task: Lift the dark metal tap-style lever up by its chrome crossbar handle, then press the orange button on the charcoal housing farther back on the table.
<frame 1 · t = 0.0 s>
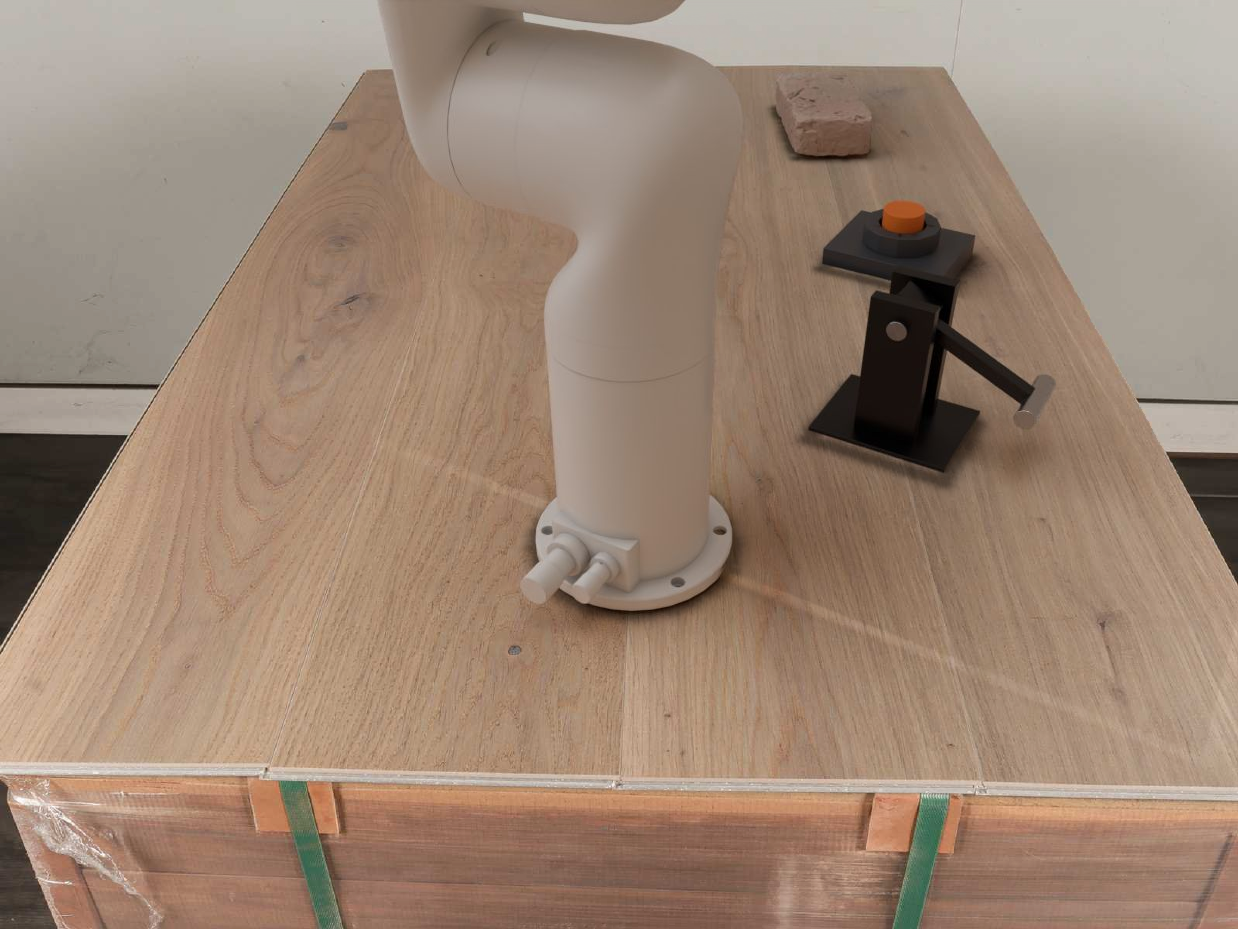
bracket: (892, 431, 81), on the table
lever: (968, 353, 74), point 8 cm above the table, hinge at -25.0°
button: (903, 218, 99), point 4 cm above the table, slide at 0.1 cm
button box: (896, 263, 102), on the table
brick: (818, 133, 127), on the table
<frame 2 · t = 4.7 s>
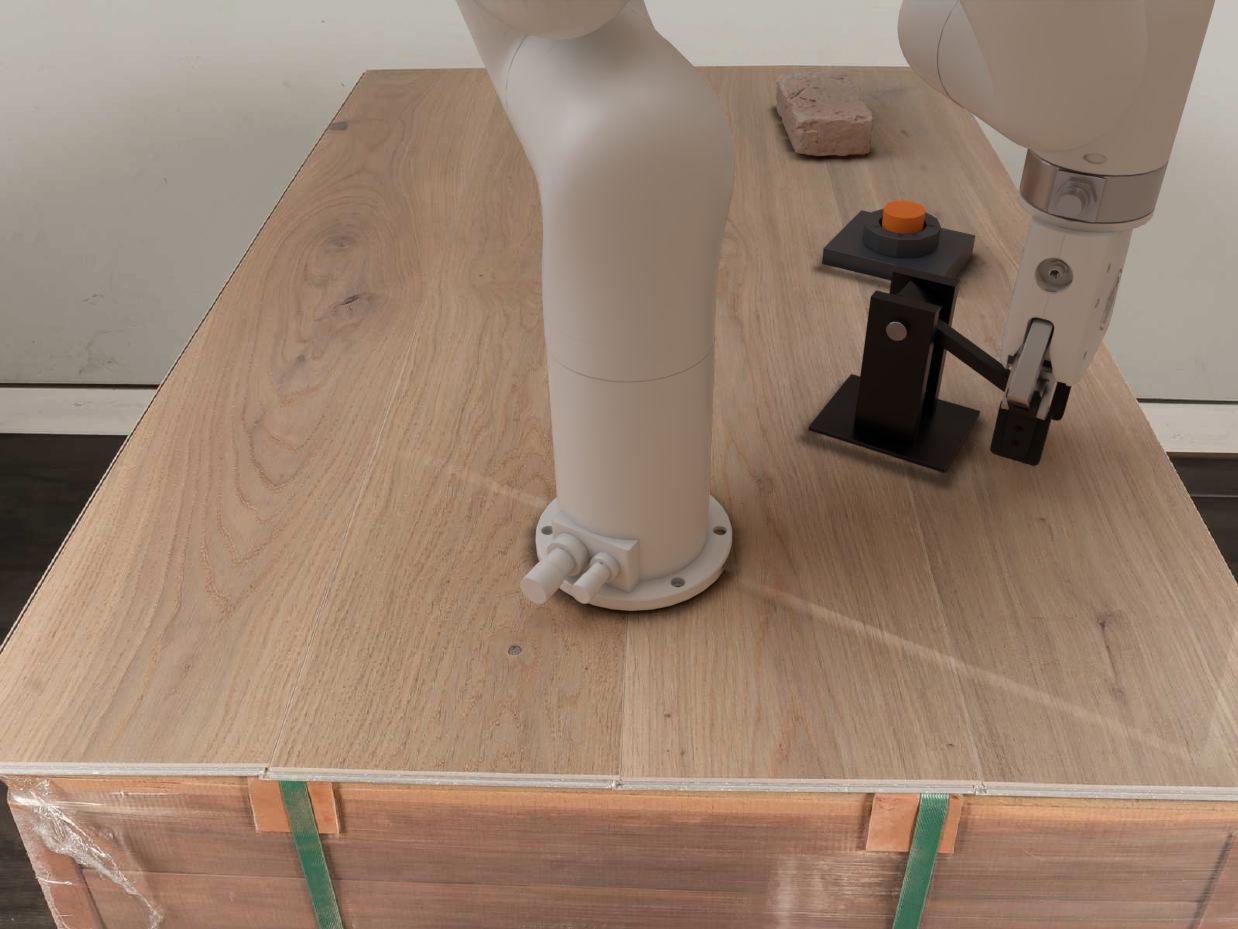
hand: (1027, 432, 75), 3 cm above the table, tool pointing down, fingers closed on lever, 5 cm apart
lever: (968, 353, 74), point 8 cm above the table, hinge at -25.0°, touching gripper
everything else where it was.
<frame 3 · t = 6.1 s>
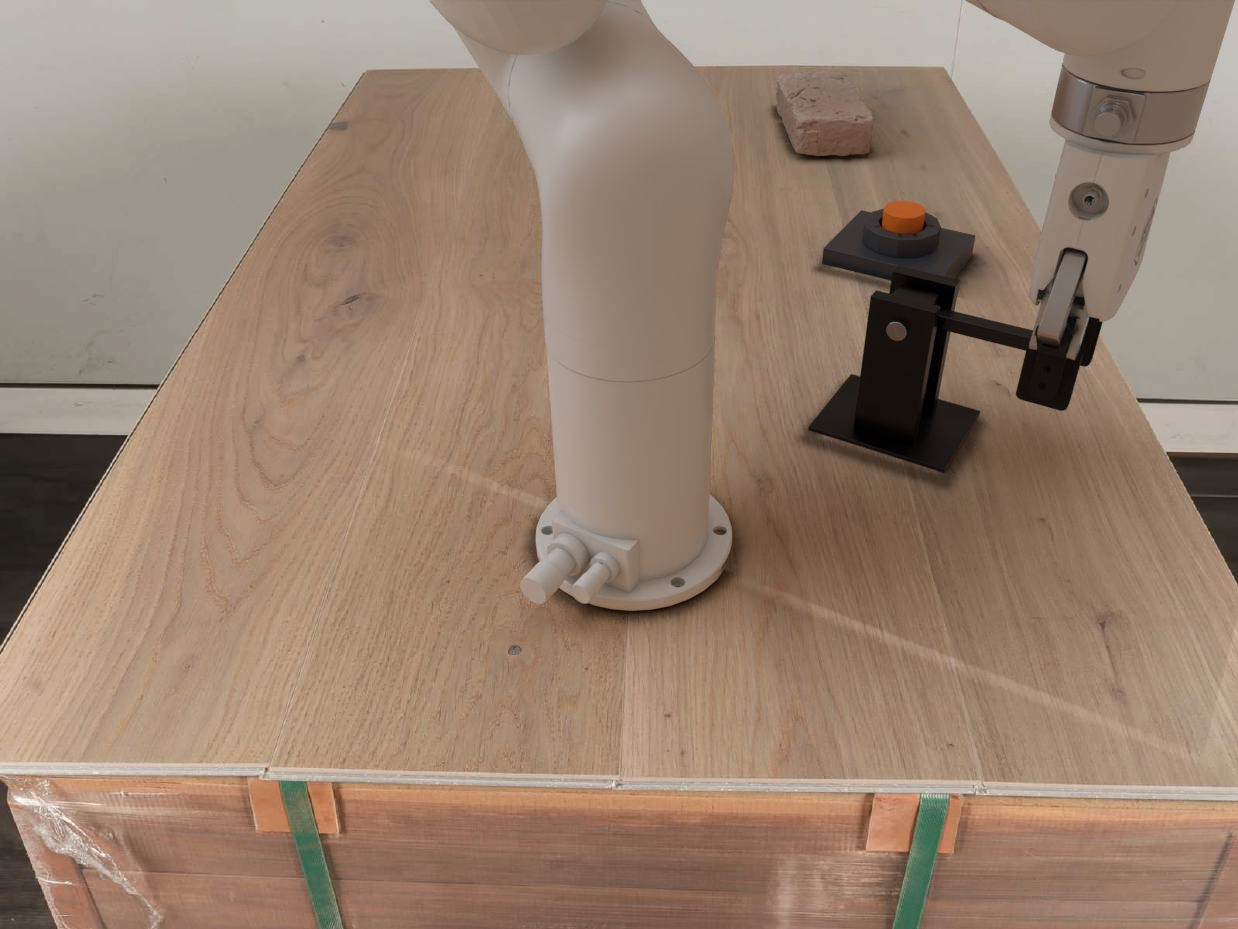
hand: (1054, 378, 72), 8 cm above the table, tool pointing down, fingers closed on lever, 5 cm apart
lever: (980, 328, 73), point 10 cm above the table, hinge at 0.7°, touching gripper
everything else where it was.
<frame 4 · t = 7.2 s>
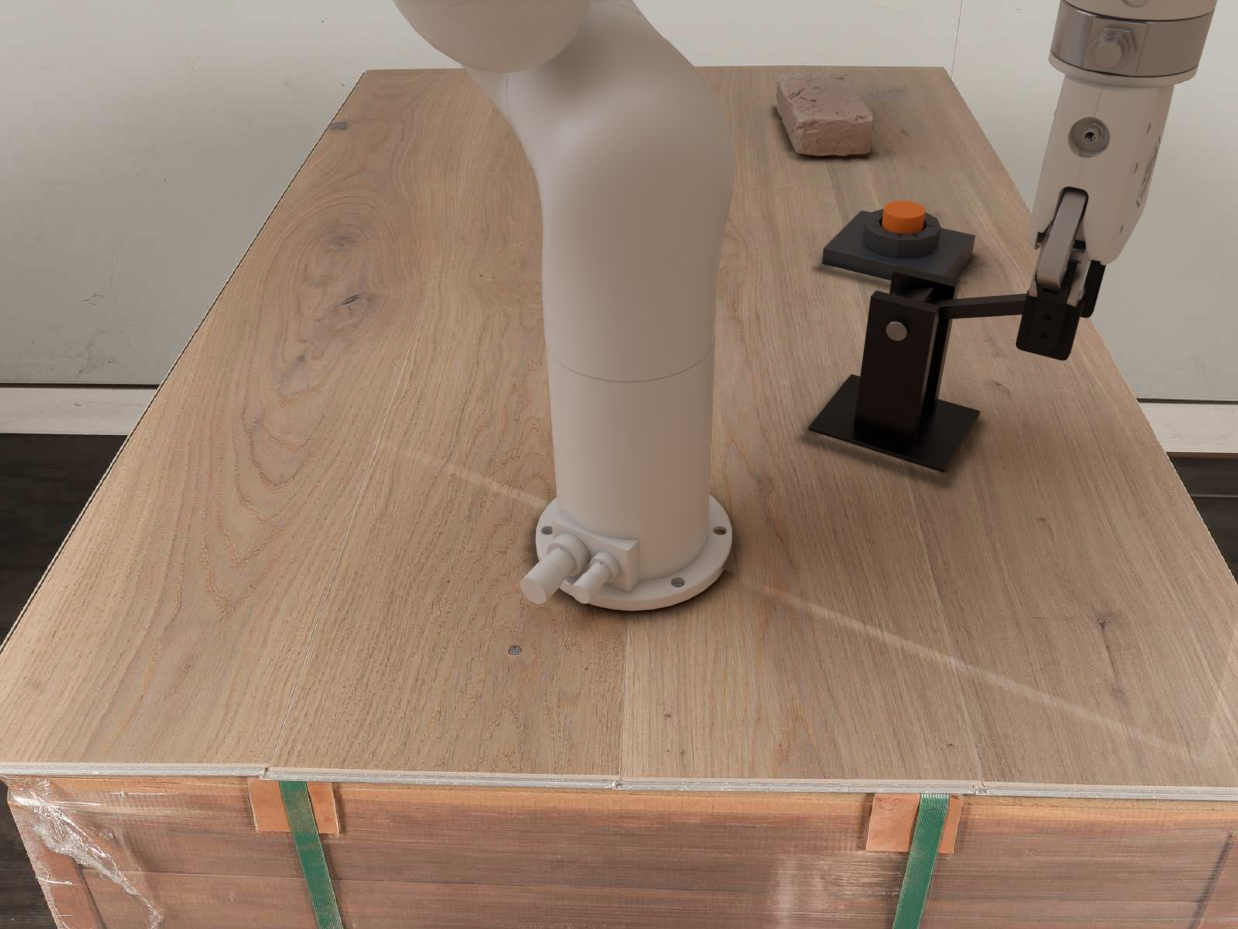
hand: (1055, 329, 70), 11 cm above the table, tool pointing down, fingers closed on lever, 5 cm apart
lever: (980, 307, 72), point 12 cm above the table, hinge at 19.8°, touching gripper
everything else where it was.
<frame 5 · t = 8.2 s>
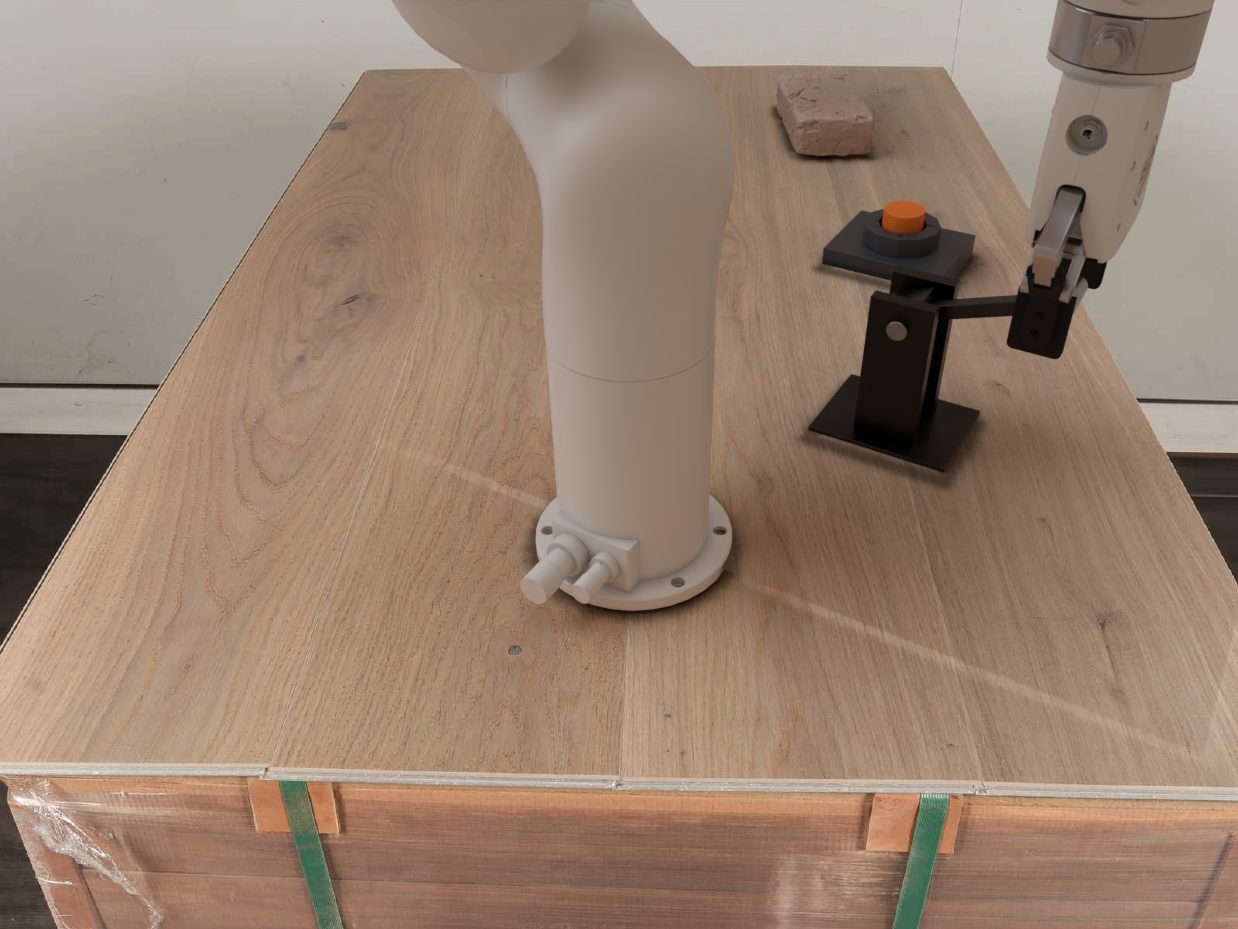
hand: (1054, 315, 70), 12 cm above the table, tool pointing down, fingers open, 9 cm apart
lever: (980, 307, 72), point 12 cm above the table, hinge at 19.4°
everything else where it was.
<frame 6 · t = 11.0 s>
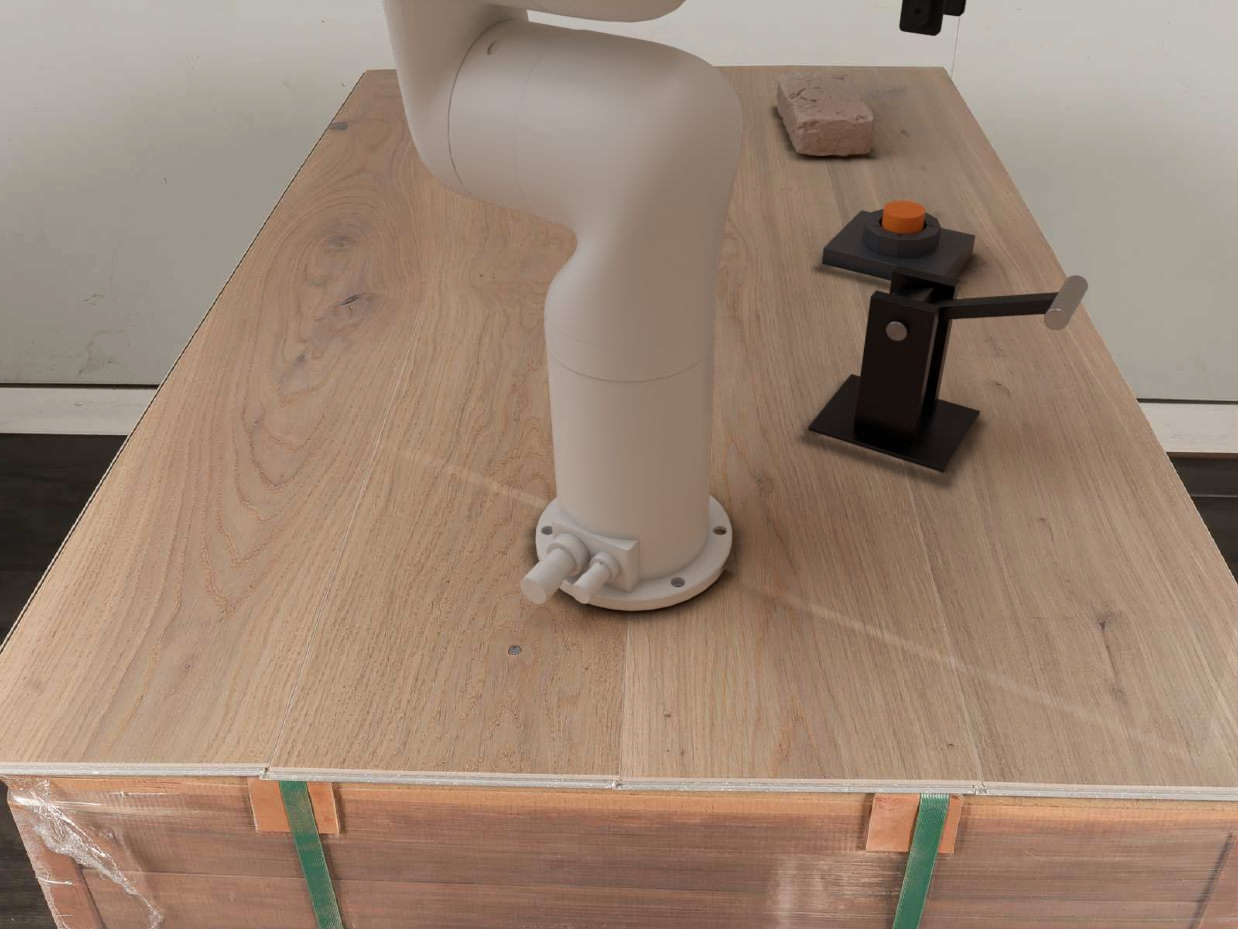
hand: (932, 20, 89), 21 cm above the table, tool pointing down, fingers open, 5 cm apart
nothing on the table moved.
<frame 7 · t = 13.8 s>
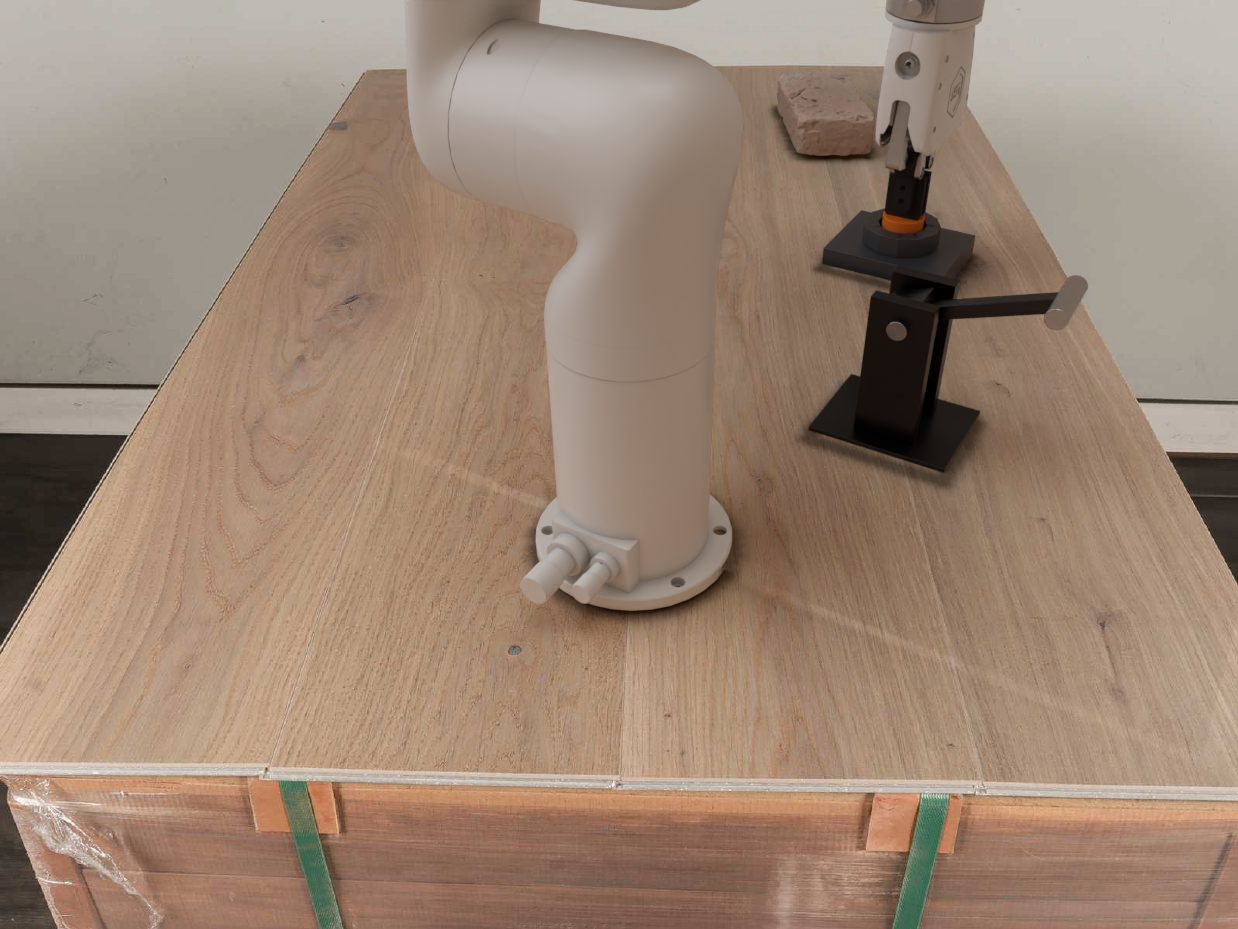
hand: (904, 213, 99), 5 cm above the table, tool pointing down, fingers closed
button: (902, 223, 99), point 4 cm above the table, slide at -0.5 cm, touching gripper
everything else where it was.
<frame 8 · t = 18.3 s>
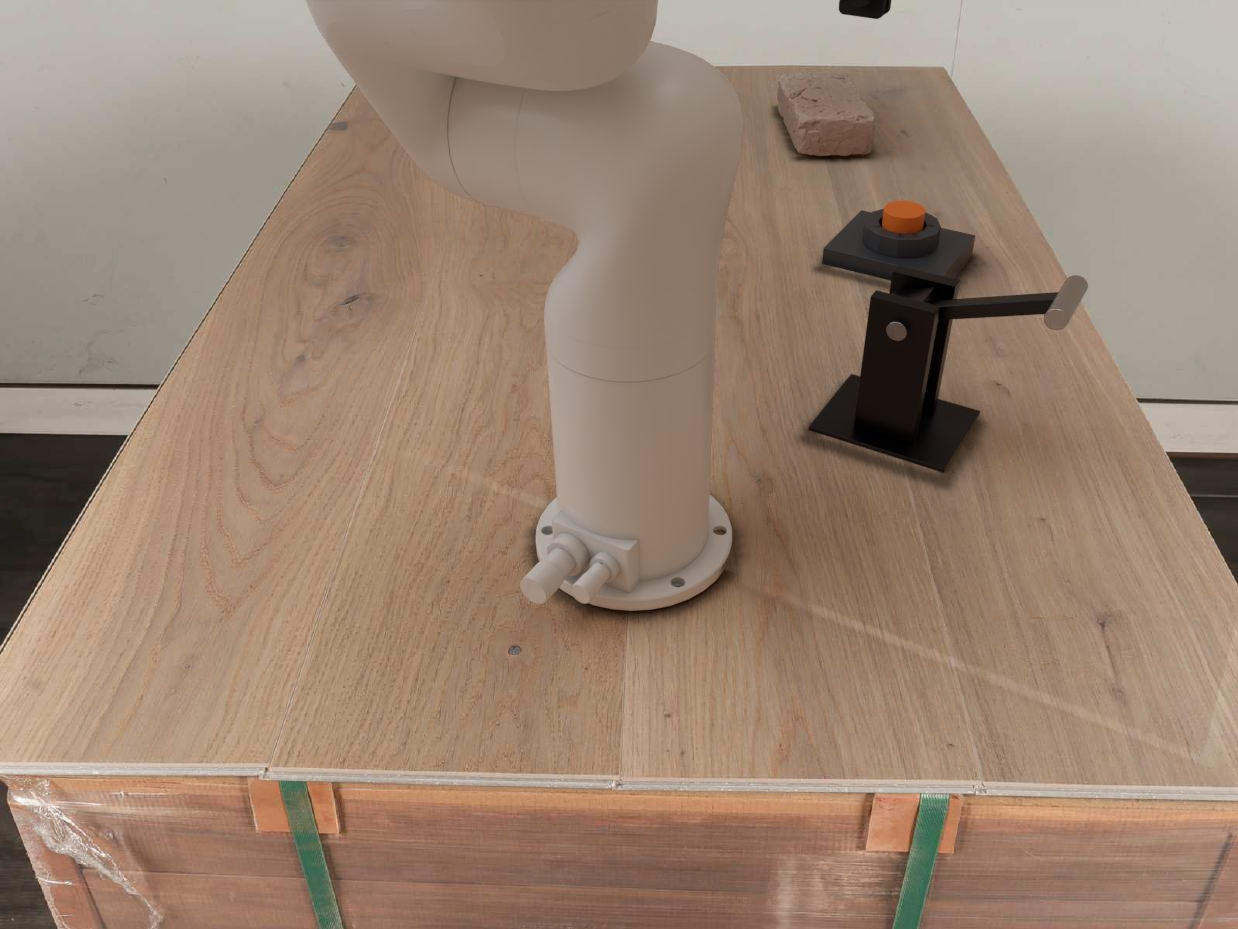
hand: (863, 12, 78), 25 cm above the table, tool pointing down, fingers closed
button: (903, 218, 99), point 4 cm above the table, slide at 0.1 cm
everything else where it was.
at the end: lever at +19° (first picture: -25°); button pushed in 1.1 cm at the most during the clip, back to where it started at the end; button slide at 0.1 cm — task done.
